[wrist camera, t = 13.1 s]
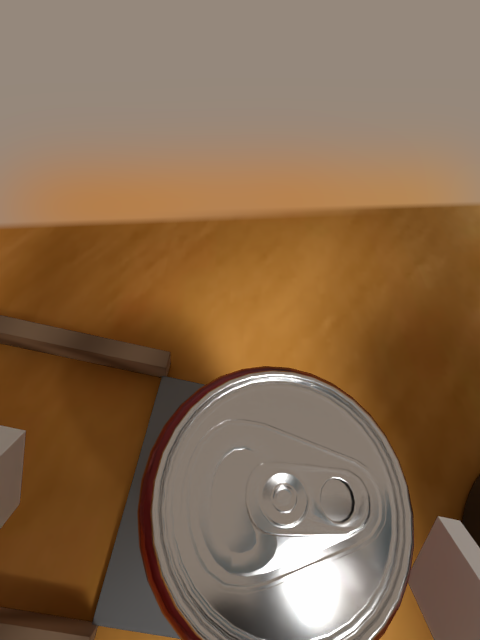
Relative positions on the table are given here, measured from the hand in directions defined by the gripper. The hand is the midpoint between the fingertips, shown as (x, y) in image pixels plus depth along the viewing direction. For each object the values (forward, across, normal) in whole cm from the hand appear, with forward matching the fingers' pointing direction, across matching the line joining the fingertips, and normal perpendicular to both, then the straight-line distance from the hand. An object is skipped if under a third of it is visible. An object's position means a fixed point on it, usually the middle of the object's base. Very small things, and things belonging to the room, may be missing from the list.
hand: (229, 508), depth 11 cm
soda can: (+7, +1, -6) cm, 9 cm away
